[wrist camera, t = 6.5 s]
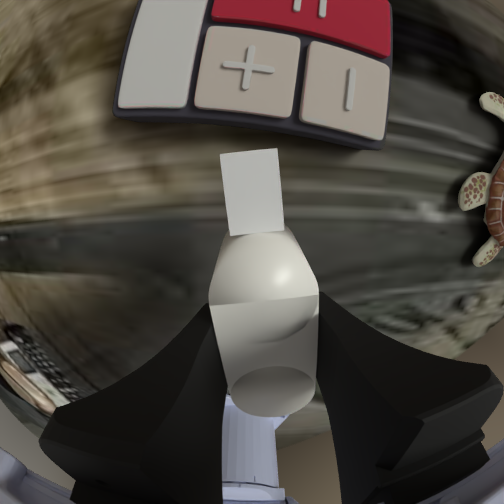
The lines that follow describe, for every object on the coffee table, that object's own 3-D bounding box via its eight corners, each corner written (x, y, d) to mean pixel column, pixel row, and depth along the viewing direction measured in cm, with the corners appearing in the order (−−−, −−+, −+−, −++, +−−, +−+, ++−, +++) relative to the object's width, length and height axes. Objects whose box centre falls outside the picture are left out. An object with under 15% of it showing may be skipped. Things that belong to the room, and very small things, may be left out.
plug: (300, 355, 13) (312, 412, 9) (239, 361, 13) (237, 419, 9) (290, 147, 9) (312, 145, 6) (206, 156, 9) (184, 159, 6)
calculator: (391, 153, 13) (104, 116, 11) (358, 150, 17) (132, 122, 15) (398, -2, 9) (148, -42, 7) (369, 19, 13) (163, -12, 11)
